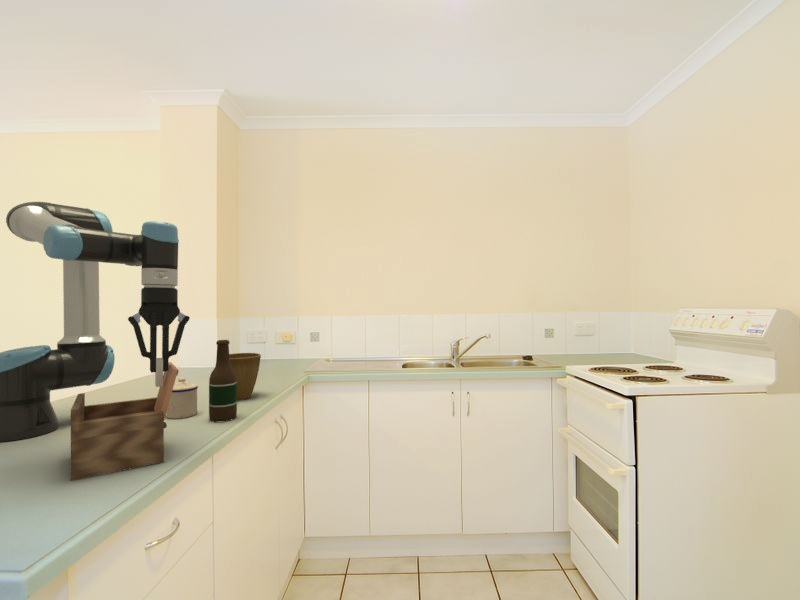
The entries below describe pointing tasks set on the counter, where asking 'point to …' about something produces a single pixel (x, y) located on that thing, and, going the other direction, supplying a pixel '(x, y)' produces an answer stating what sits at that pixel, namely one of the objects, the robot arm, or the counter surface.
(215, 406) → the beer bottle
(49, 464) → the counter surface
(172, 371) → the orange rectangular slab
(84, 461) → the tray
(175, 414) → the teacup with lid
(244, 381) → the plant pot
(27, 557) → the counter surface
